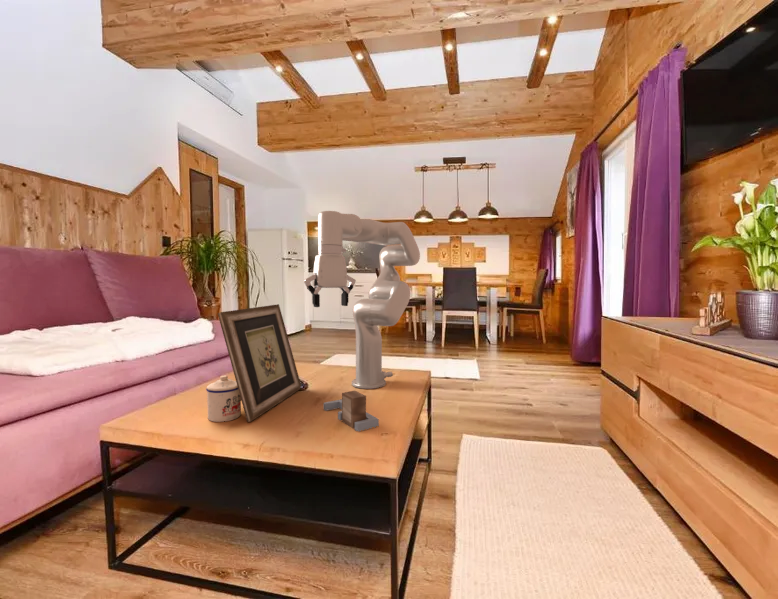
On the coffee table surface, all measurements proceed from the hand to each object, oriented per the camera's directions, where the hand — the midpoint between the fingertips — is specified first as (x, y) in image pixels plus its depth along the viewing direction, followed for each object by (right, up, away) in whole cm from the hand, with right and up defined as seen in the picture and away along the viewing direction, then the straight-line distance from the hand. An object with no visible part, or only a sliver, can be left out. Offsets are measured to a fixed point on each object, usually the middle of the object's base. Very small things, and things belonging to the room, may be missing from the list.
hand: (330, 306), depth 123 cm
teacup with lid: (-28, -31, -11) cm, 43 cm away
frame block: (+9, -31, -17) cm, 37 cm away
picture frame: (-21, -31, 0) cm, 37 cm away
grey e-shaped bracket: (+7, -31, -13) cm, 34 cm away
